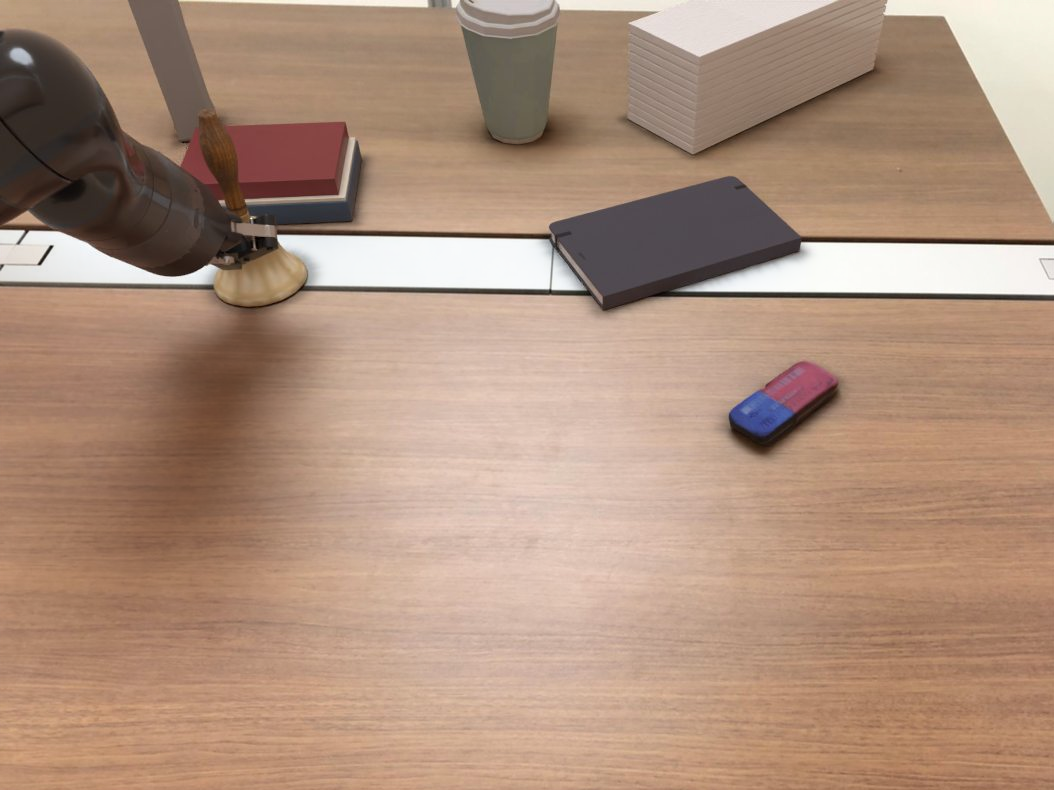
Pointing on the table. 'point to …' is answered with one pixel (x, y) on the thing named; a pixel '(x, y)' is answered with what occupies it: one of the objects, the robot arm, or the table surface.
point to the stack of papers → (742, 62)
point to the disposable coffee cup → (511, 62)
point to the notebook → (671, 240)
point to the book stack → (289, 170)
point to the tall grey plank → (173, 62)
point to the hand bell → (270, 272)
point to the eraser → (783, 402)
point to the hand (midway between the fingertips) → (232, 257)
